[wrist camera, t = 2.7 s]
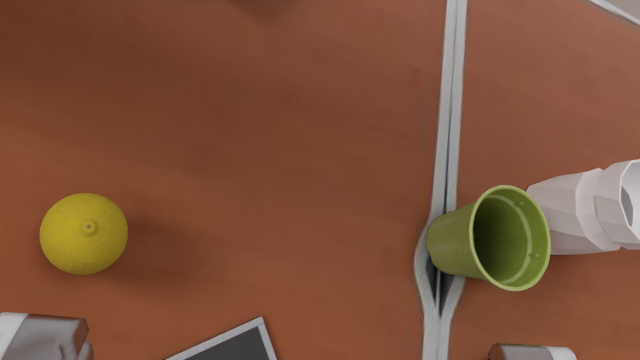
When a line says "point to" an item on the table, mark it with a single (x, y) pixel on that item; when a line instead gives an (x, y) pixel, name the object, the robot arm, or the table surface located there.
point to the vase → (592, 209)
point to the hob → (233, 345)
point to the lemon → (83, 233)
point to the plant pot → (493, 239)
